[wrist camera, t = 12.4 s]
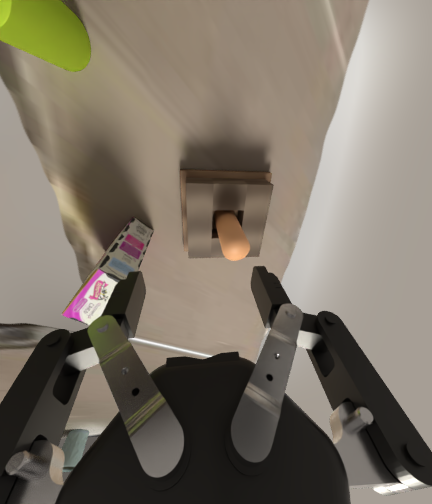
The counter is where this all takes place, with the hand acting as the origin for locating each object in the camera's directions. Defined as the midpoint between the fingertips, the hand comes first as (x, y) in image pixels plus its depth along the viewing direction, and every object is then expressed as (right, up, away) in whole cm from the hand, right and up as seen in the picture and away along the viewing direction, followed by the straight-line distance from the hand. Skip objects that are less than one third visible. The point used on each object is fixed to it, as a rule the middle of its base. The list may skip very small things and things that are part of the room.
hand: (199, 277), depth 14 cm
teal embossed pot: (-65, -85, +79) cm, 133 cm away
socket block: (+3, +10, +24) cm, 26 cm away
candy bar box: (-17, +4, +26) cm, 31 cm away
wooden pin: (+3, +9, +23) cm, 25 cm away
